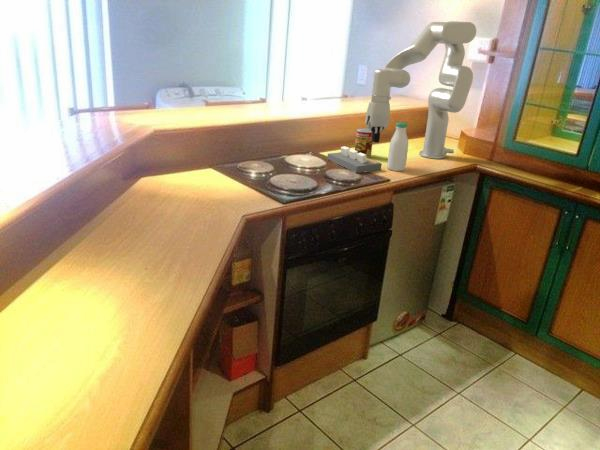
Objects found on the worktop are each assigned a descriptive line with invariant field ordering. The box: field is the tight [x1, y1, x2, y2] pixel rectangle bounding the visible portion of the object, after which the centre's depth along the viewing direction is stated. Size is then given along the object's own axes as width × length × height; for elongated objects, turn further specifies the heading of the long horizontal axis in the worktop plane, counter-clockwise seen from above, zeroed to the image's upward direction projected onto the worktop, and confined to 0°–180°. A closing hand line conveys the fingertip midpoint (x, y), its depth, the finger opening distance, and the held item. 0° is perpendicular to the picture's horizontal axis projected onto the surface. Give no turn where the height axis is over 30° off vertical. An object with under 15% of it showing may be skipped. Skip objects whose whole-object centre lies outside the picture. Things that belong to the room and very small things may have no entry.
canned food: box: [354, 128, 373, 159], centre depth 227 cm, size 8×8×12 cm
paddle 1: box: [340, 145, 351, 156], centre depth 216 cm, size 2×4×3 cm, turn 30°
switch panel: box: [327, 151, 383, 173], centre depth 213 cm, size 13×22×3 cm, turn 30°
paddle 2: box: [357, 152, 367, 163], centre depth 207 cm, size 2×4×3 cm, turn 30°
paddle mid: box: [349, 148, 358, 160], centre depth 211 cm, size 2×4×3 cm, turn 30°
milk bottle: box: [386, 121, 409, 172], centre depth 207 cm, size 8×8×20 cm
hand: (375, 141), depth 215 cm, fingers closed
